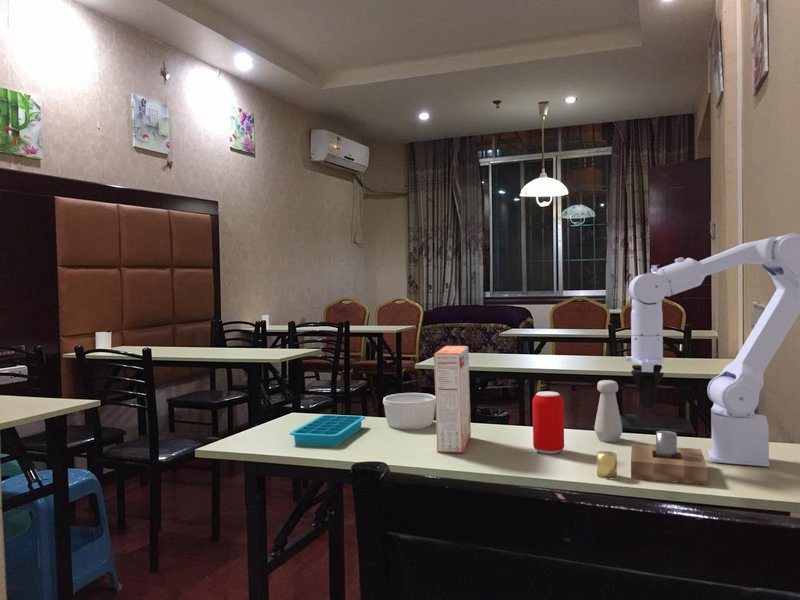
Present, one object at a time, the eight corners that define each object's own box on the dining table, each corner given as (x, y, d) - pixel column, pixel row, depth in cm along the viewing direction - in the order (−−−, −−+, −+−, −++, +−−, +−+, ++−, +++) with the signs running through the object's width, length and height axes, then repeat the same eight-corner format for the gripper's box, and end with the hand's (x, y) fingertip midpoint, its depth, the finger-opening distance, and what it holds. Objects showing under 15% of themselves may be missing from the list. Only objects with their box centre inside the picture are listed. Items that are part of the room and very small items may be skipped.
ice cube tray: (366, 428, 148) (366, 416, 148) (337, 449, 128) (337, 435, 128) (323, 426, 151) (322, 414, 151) (287, 447, 131) (287, 433, 131)
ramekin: (384, 432, 142) (383, 403, 142) (382, 420, 155) (382, 393, 155) (439, 430, 143) (438, 401, 143) (433, 418, 156) (433, 391, 156)
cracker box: (445, 436, 137) (443, 345, 136) (471, 437, 135) (469, 345, 135) (434, 452, 123) (432, 352, 123) (463, 454, 122) (461, 352, 121)
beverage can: (535, 446, 127) (534, 390, 126) (565, 448, 125) (564, 391, 124) (531, 454, 121) (530, 395, 121) (563, 456, 119) (562, 396, 119)
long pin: (676, 469, 109) (676, 431, 109) (676, 475, 106) (676, 435, 106) (656, 467, 110) (656, 429, 110) (655, 472, 107) (655, 434, 107)
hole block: (700, 465, 111) (700, 449, 111) (707, 485, 100) (707, 467, 100) (632, 459, 116) (631, 444, 116) (631, 478, 105) (630, 461, 105)
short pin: (617, 474, 107) (617, 452, 107) (616, 480, 104) (616, 457, 104) (597, 472, 108) (597, 450, 108) (596, 478, 105) (596, 455, 105)
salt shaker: (624, 443, 127) (623, 383, 127) (596, 442, 128) (595, 382, 128) (619, 437, 133) (619, 378, 133) (593, 436, 134) (592, 378, 134)
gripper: (625, 332, 125) (626, 396, 125) (624, 337, 112) (624, 409, 112) (662, 332, 123) (663, 398, 123) (665, 338, 109) (665, 412, 109)
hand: (647, 404), depth 117 cm, fingers open, 7 cm apart
